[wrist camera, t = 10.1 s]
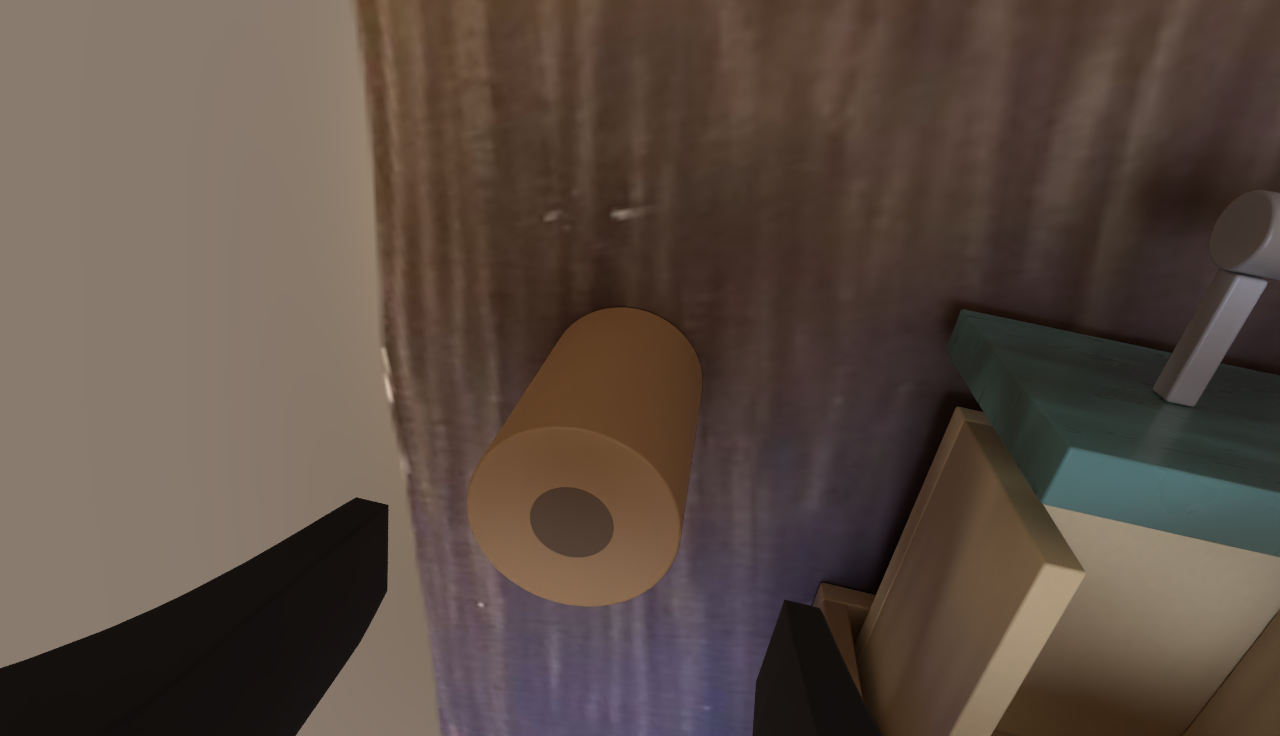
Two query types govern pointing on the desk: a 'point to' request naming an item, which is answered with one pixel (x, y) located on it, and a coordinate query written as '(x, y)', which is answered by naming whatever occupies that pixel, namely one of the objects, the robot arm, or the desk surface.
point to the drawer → (1095, 532)
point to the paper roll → (593, 463)
